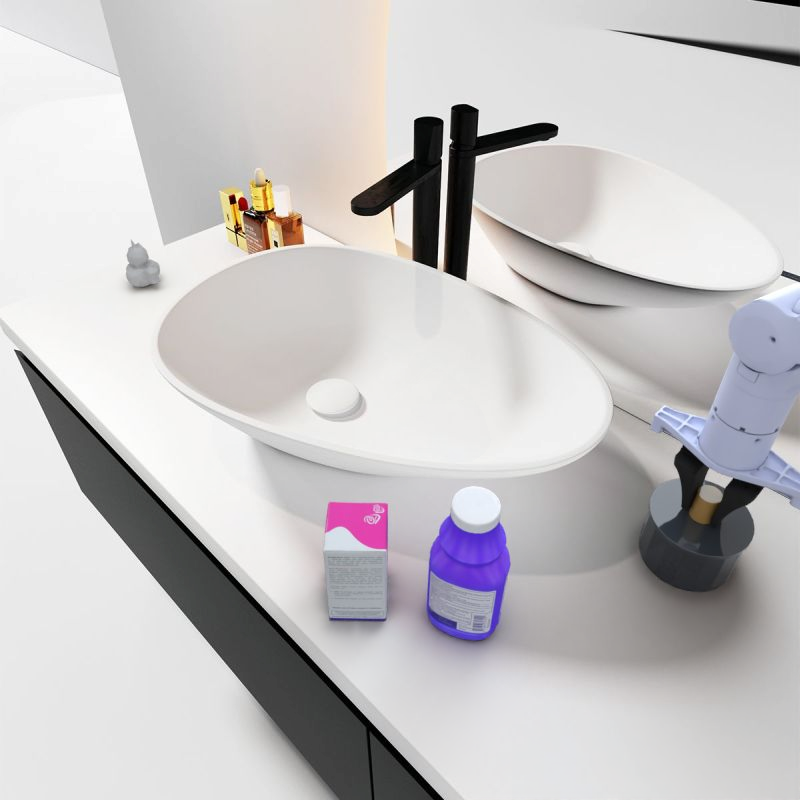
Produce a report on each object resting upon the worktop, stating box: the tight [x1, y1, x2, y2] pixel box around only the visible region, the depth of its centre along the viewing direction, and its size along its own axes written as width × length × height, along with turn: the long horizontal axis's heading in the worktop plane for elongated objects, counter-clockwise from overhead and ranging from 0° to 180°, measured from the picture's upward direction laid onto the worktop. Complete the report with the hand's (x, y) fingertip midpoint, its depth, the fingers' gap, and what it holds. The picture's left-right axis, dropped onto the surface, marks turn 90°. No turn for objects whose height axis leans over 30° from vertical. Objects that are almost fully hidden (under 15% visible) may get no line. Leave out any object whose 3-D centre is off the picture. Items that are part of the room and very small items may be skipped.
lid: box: [648, 477, 756, 560], centre depth 69 cm, size 10×10×4 cm
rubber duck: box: [125, 239, 161, 288], centre depth 111 cm, size 5×7×8 cm
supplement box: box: [322, 501, 389, 622], centre depth 66 cm, size 6×6×12 cm
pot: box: [638, 510, 744, 593], centre depth 72 cm, size 9×9×6 cm
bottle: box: [426, 485, 511, 641], centre depth 63 cm, size 7×6×17 cm
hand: (702, 511), depth 69 cm, fingers closed on lid, 2 cm apart
